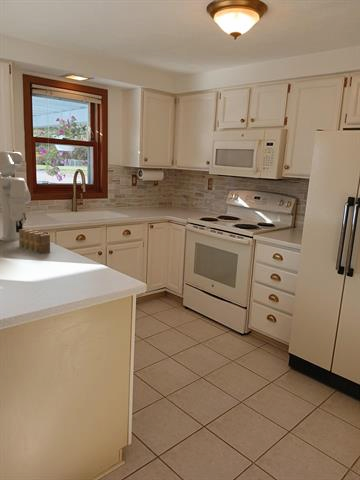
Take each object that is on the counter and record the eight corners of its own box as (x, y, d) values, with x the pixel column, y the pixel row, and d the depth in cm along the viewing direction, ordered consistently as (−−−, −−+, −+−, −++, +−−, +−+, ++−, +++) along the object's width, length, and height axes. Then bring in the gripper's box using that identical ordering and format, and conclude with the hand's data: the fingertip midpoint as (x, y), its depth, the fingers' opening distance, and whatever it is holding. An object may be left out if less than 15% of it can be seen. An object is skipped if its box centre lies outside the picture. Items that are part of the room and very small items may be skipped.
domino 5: (50, 252, 201) (49, 234, 199) (42, 253, 197) (41, 235, 195) (47, 251, 202) (47, 233, 200) (39, 253, 198) (39, 235, 196)
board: (15, 247, 209) (15, 246, 209) (29, 245, 216) (29, 244, 216) (40, 255, 196) (40, 254, 195) (53, 253, 202) (53, 252, 202)
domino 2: (24, 248, 207) (23, 230, 205) (32, 247, 211) (31, 229, 209) (26, 248, 206) (25, 231, 204) (34, 247, 210) (33, 230, 208)
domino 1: (19, 246, 210) (18, 229, 208) (27, 245, 214) (27, 228, 212) (21, 247, 209) (20, 230, 207) (29, 246, 213) (28, 229, 211)
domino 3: (29, 249, 204) (28, 232, 202) (37, 248, 208) (37, 231, 206) (31, 250, 203) (30, 232, 201) (39, 249, 207) (39, 231, 205)
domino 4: (34, 251, 201) (34, 233, 199) (42, 250, 205) (42, 232, 203) (36, 252, 200) (36, 234, 198) (44, 250, 204) (44, 233, 202)
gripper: (4, 199, 210) (6, 231, 214) (19, 202, 201) (20, 234, 205) (17, 199, 216) (18, 229, 220) (31, 201, 207) (32, 233, 211)
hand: (19, 232), depth 212 cm, fingers closed
